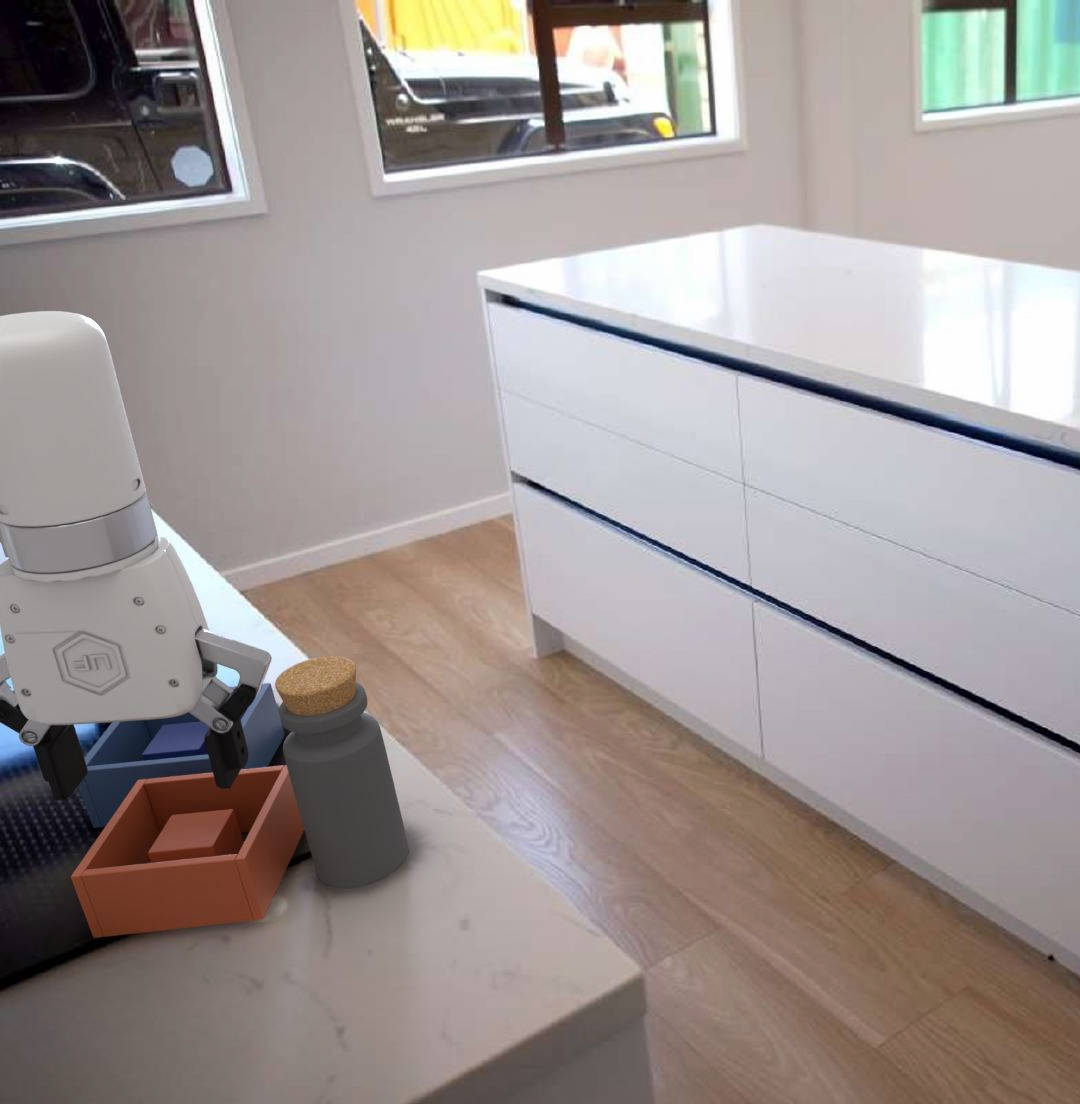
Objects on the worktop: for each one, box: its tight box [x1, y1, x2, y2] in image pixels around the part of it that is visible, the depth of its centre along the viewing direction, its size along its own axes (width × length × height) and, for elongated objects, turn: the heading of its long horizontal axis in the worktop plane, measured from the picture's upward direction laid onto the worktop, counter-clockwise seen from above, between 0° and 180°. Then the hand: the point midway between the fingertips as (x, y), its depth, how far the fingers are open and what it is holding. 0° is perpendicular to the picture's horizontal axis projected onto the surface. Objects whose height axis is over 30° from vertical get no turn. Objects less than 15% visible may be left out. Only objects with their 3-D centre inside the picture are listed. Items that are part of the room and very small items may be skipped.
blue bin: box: [77, 682, 286, 829], centre depth 92 cm, size 10×10×6 cm
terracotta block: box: [148, 809, 244, 863], centre depth 81 cm, size 4×4×4 cm
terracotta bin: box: [70, 764, 305, 939], centre depth 81 cm, size 10×10×6 cm
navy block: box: [142, 721, 210, 761], centre depth 92 cm, size 4×4×4 cm
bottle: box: [274, 655, 410, 889], centre depth 80 cm, size 6×6×15 cm
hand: (152, 781), depth 79 cm, fingers open, 9 cm apart
